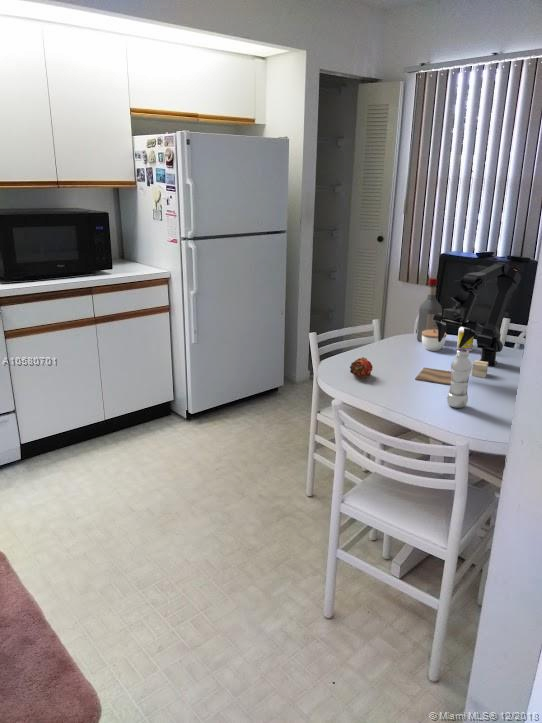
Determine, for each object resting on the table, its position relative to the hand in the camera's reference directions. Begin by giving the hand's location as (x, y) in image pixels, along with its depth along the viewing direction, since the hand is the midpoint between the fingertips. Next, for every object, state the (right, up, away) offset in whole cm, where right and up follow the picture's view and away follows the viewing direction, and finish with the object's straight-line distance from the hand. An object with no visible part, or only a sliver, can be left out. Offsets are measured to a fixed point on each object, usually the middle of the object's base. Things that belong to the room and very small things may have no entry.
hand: (449, 344), depth 202 cm
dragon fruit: (-33, -13, +8) cm, 36 cm away
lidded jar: (+6, -1, +40) cm, 41 cm away
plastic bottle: (-5, -22, -21) cm, 31 cm away
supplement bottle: (+20, -1, +39) cm, 43 cm away
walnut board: (-3, -13, +6) cm, 14 cm away
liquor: (+7, +3, +53) cm, 53 cm away
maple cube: (+14, -12, +8) cm, 20 cm away
